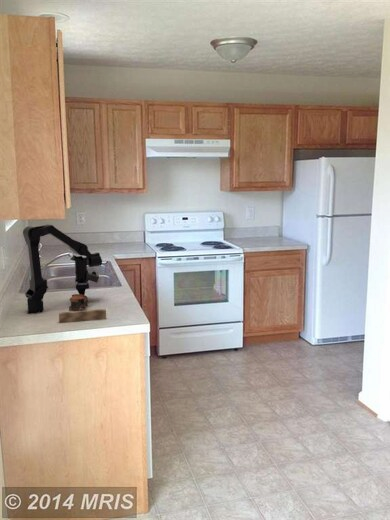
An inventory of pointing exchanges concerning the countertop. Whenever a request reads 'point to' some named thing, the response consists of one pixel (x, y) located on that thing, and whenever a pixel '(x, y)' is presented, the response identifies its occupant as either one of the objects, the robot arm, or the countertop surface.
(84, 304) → the pottery mug
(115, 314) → the countertop surface
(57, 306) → the countertop surface
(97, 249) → the countertop surface
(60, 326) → the countertop surface
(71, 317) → the walnut board
